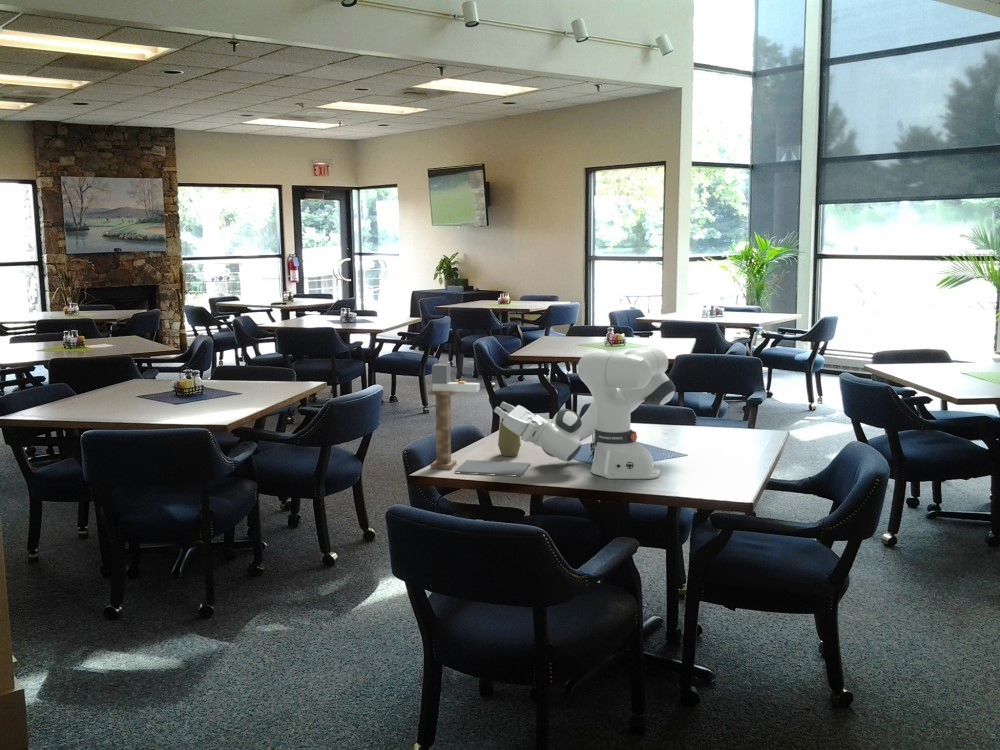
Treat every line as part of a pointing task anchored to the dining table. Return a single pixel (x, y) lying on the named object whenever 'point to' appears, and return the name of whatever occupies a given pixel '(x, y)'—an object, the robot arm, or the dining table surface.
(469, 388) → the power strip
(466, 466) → the grey flat rectangular slab
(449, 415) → the walnut stand
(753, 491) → the dining table surface
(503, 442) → the squeeze bottle
